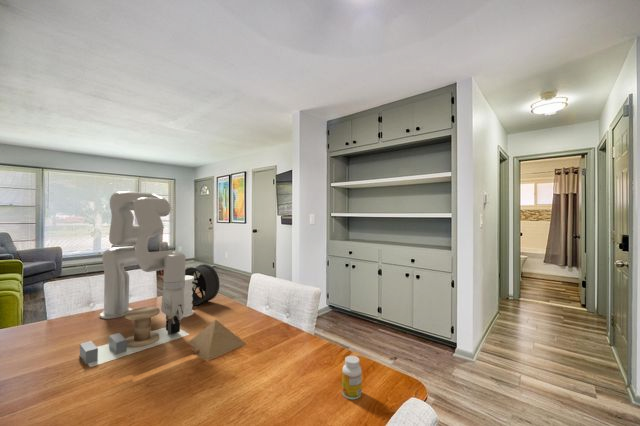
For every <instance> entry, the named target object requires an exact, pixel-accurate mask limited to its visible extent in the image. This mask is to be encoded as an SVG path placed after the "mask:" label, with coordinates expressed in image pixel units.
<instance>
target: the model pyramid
mask: <svg viewBox="0 0 640 426" xmlns="http://www.w3.org/2000/svg"><path fill="white" fill-rule="evenodd" d="M187 344H188V345H190V346H191V348H190V350H191V352H194V353H193V356H196V355H197V356H198V357H200V358H201V359H203V360H205V361H206V362H209V361H210V360H212V359H215V358H218V357H220V356H222V355H225V354H226V353H229V352H232V351H233V350H236V349H238V348H240V347H243V346H245V345H247V343H246V342H245V341H243V339H241V338H240V337H239V336H238V335H237V334H235V333H234V332H232V331H231V330H230V329H228V328H227V326H225V325H223V324H222V323H221V322H220V321H219V320H217V319H215V320H214V321H212V322H211V323H210V324H208V325H207V326H206V327H205V328H204V329H203V330H200V332H199V333H198V334H196V335H195V336H193V338H191V339H190V340H189V341H188V342H187Z"/></svg>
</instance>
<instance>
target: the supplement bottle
mask: <svg viewBox="0 0 640 426" xmlns="http://www.w3.org/2000/svg"><path fill="white" fill-rule="evenodd" d="M344 363H345V364H343V366H342V373H341V374H342V375H341V376H342V377H341V394H342V395H343V397H344V398H346V399H348V400H357V399H359V398H360V397H361V395H362V377H363V376H362V373H363V372H362V367H361V365H360V358H359V357H358V356H355V355H348V356H345V358H344Z"/></svg>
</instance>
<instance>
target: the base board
mask: <svg viewBox="0 0 640 426" xmlns="http://www.w3.org/2000/svg"><path fill="white" fill-rule="evenodd" d="M150 332H156V333H158V334H159V339H158V340H157V341H156V342H154V343H152V344H150V345H146V346H142V347H134V348H132V347H127V351H126V352H123V353H120V354H115V353H114V352H113V351H112V350H111V349H110V348H109V343H106V344H103V345H99V346H96V347H97V348H98V361H95V362H91V363H88V364H87V365H88V366H89V367H90V368H93V367H95V366H98V365H101V364H105V363H107V362H110V361H114V360H117V359H120V358H123V357H126V356H129V355H132V354H134V353H137V352H141V351H144V350H146V349H147V350H148V349H150V348H153V347H156V346H159V345H161V344H165V343H168V342H172V341H174V340H178V339H181V338H183V337H186V336H189V335H190V334H189V333H188V332H187V331H185V330H184V329H182V328H180V332H177V333H176V334H168V331H167V330H166V326H165V327H161V328H158V329H155V330H150ZM127 338H128V337H127ZM127 338H126V337H125V339H127Z"/></svg>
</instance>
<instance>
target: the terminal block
mask: <svg viewBox="0 0 640 426" xmlns="http://www.w3.org/2000/svg"><path fill="white" fill-rule="evenodd" d="M108 344H109V348H110V349H111V350H112V351H113V352H114V353H115V354H120V353H123V352H126V351H127V339H126V337H124V336H123V335H122V334H121V333H120V332H119V333H114V334H110V335H108ZM97 347H98V346H97V345H96V344H95V343H94V342H93V341H92V340H88V341H85V342H81V343H79V356H80V359H82V361H83V363H84V364H85V365H88V363H91V362H95V361H98V348H97Z"/></svg>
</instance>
